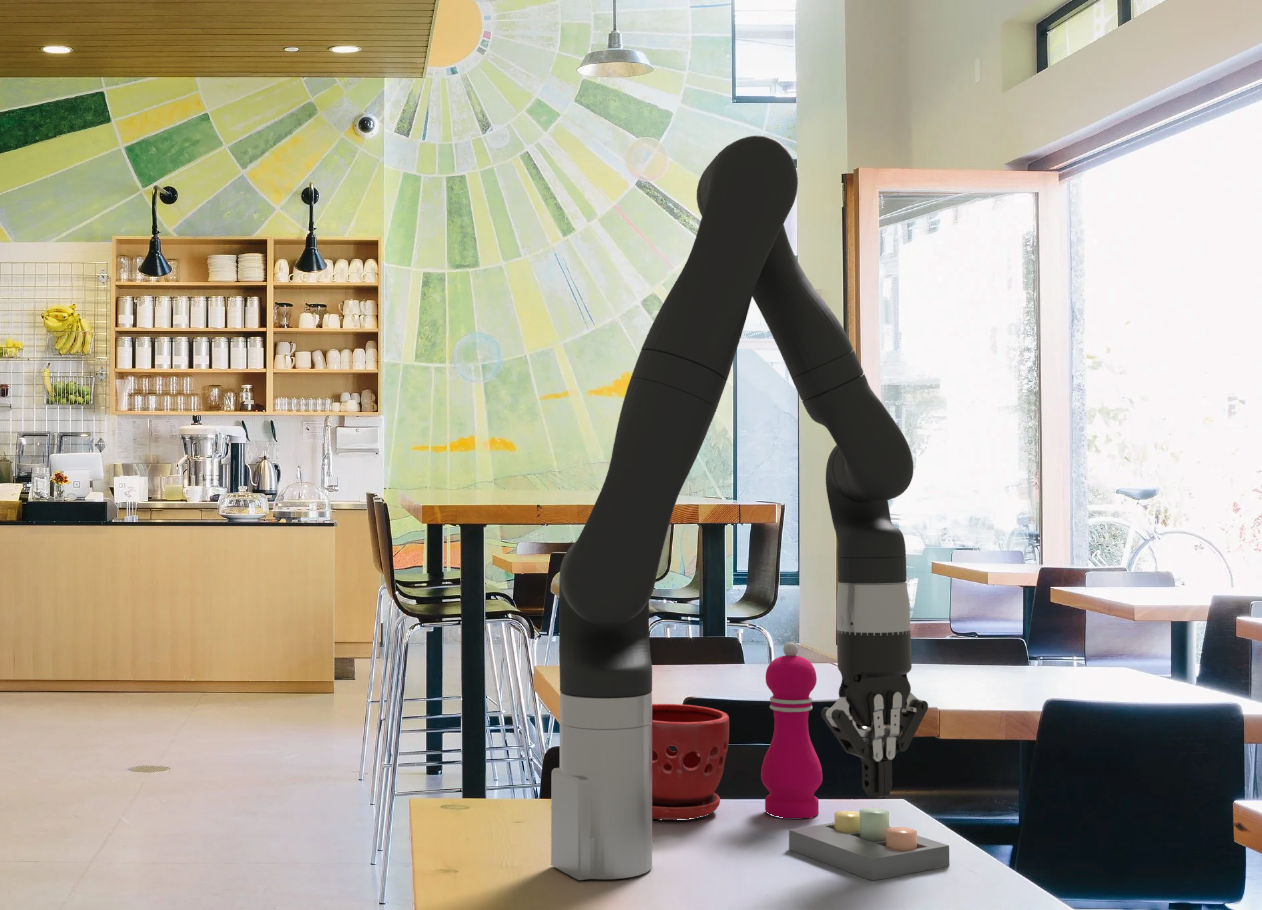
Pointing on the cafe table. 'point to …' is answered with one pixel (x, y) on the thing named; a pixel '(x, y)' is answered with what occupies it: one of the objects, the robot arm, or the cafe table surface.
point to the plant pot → (687, 760)
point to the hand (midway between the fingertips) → (877, 795)
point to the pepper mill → (791, 739)
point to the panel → (866, 852)
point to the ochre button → (847, 821)
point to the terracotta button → (901, 838)
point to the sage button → (873, 824)
